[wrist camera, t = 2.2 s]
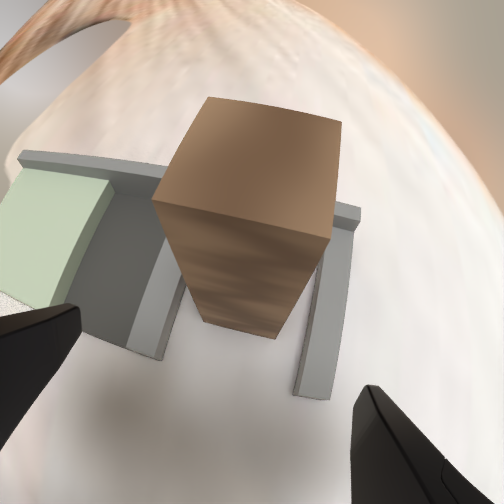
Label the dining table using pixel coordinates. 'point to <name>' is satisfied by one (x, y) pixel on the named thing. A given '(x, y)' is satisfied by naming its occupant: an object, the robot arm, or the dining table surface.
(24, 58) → the dining table surface
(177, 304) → the tray
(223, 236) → the walnut block
